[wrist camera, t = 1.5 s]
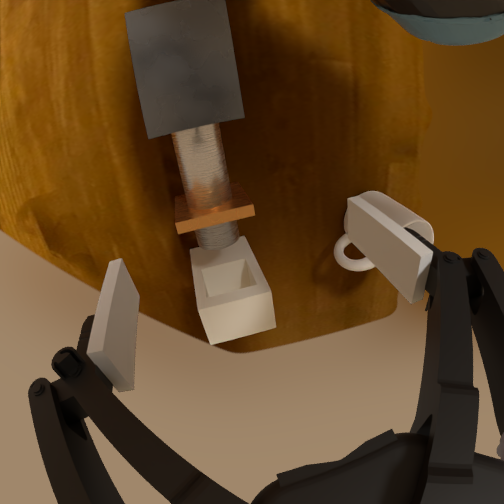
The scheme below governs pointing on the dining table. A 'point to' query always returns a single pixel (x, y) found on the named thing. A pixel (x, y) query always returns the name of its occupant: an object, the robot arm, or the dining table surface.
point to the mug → (393, 212)
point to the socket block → (231, 292)
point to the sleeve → (184, 65)
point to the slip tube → (208, 189)
